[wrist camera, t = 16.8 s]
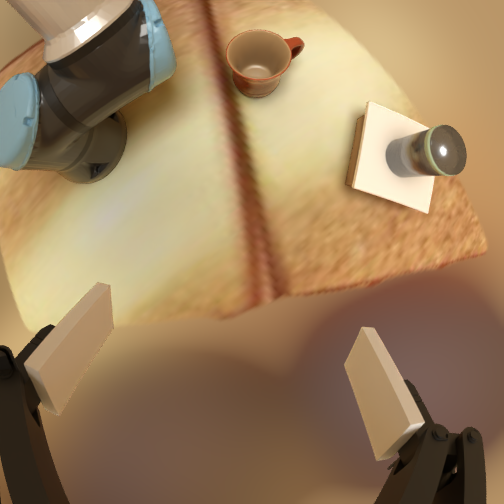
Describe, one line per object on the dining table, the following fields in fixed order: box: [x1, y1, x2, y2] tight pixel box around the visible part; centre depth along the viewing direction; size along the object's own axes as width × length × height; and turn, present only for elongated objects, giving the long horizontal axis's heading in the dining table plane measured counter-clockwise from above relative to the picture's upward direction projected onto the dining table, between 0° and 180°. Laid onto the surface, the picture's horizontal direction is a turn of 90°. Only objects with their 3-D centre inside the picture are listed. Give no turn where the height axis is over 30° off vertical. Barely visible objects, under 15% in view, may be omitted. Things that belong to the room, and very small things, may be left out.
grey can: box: [385, 125, 466, 178], centre depth 31 cm, size 6×6×12 cm
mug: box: [226, 30, 304, 98], centre depth 35 cm, size 12×9×10 cm
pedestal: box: [345, 101, 435, 214], centre depth 40 cm, size 14×14×7 cm
